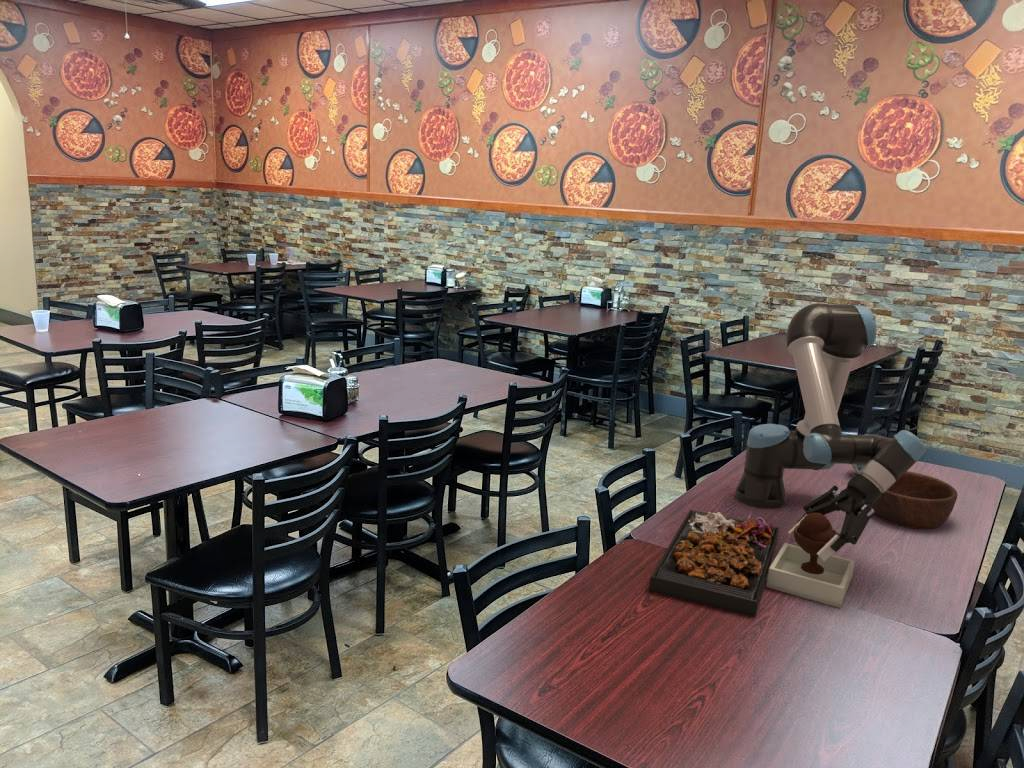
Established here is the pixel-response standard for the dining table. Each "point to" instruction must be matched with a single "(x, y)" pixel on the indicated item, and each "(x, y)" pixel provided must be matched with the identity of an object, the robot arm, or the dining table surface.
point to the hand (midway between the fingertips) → (805, 546)
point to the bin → (810, 576)
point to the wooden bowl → (916, 502)
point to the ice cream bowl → (813, 539)
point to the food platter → (717, 562)
